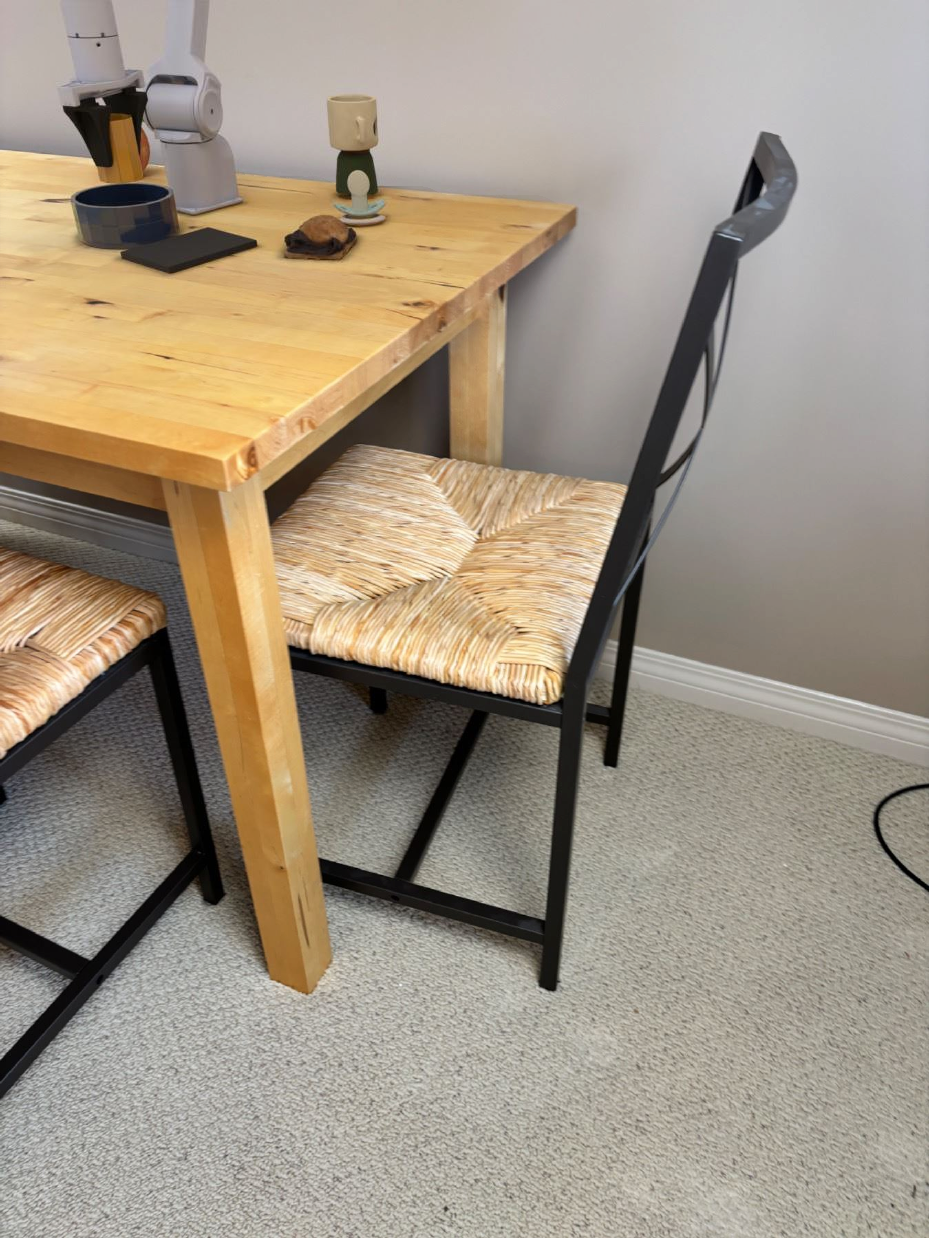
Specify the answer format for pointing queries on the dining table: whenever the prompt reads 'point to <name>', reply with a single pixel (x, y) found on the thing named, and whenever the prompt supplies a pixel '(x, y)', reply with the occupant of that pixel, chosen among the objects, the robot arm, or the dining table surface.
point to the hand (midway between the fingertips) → (118, 161)
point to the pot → (125, 215)
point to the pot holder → (188, 249)
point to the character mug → (353, 137)
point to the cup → (122, 152)
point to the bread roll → (320, 239)
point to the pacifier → (360, 202)
